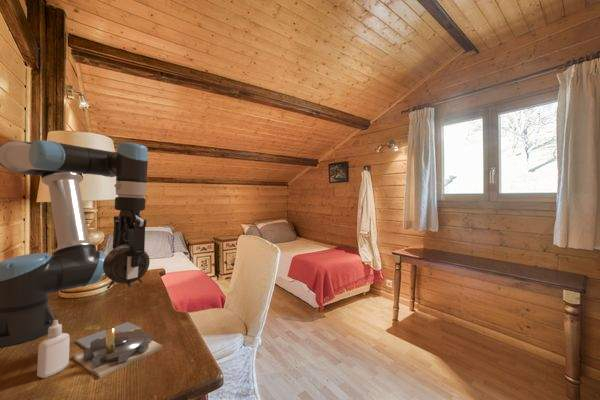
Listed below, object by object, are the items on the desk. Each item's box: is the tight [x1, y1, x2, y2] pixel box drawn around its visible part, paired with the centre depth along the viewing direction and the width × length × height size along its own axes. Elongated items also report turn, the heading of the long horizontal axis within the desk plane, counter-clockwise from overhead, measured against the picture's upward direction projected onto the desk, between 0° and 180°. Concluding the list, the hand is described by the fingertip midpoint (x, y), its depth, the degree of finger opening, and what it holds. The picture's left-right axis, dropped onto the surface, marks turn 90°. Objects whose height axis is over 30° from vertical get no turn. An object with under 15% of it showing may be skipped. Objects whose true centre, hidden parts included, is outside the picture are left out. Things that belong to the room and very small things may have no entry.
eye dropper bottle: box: [36, 319, 71, 379], centre depth 62 cm, size 4×6×12 cm
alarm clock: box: [103, 232, 151, 290], centre depth 77 cm, size 11×5×16 cm, turn 141°
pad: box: [75, 321, 143, 350], centre depth 79 cm, size 8×14×1 cm, turn 149°
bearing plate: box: [72, 339, 164, 379], centre depth 70 cm, size 15×15×1 cm
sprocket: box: [83, 326, 153, 366], centre depth 70 cm, size 15×15×8 cm
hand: (126, 275), depth 76 cm, fingers closed on alarm clock, 5 cm apart
